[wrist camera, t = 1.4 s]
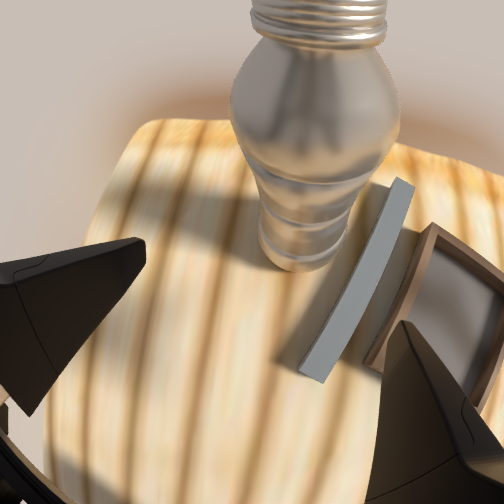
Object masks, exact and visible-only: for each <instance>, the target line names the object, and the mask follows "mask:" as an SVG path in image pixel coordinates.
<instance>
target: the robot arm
mask: <svg viewBox="0 0 504 504" xmlns="http://www.w3.org/2000/svg"><path fill="white" fill-rule="evenodd" d="M145 264H146V244H145V241H144V240H143V239H140V238H137V237H131V238H126V239H120V240H115V241H110V242H105V243H99V244H94V245H89V246H84V247H79V248H74V249H70V250H65V251H61V252H55V253H51V254H46V255H41V256H37V257H32V258H27V259H21V260H15V261H9V262H3V263H0V504H20V502H21V501H22V500H24V501H25V502H26V503H27V504H77V503H75V502H74V501H73V500H71V499H70V498H69V497H68V496H67V495H65V494H64V493H63V492H62V491H61V490H59V489H58V488H57V487H56V486H55V485H54V484H53V483H52V482H50V481H49V480H48V479H47V478H46V477H45V476H44V475H43V474H42V473H41V472H40V471H39V470H38V469H37V468H36V467H35V466H34V465H33V464H32V463H31V462H30V461H29V460H28V459H27V458H26V457H25V456H24V455H23V454H22V453H21V452H20V450H19V449H18V448H17V447H16V446H15V445H14V443H13V442H12V441H11V440H10V439H9V437H8V436H7V435H8V406H7V405H6V404H5V403H4V402H5V401H6V400H7V399H8V398H9V397H11V398H12V399H13V400H14V401H15V402H16V403H17V405H18V406H19V407H20V408H21V409H22V410H23V411H24V412H25V413H26V415H27V416H28V417H30V416H31V415H32V414H33V413H34V411H35V410H36V408H37V407H38V405H39V404H40V402H41V401H42V399H43V398H44V397H45V395H46V394H47V392H48V391H49V389H50V388H51V387H52V385H53V384H54V382H55V381H56V380H57V378H58V376H59V375H60V374H61V373H62V371H63V370H64V369H65V367H66V366H67V365H68V363H69V362H70V361H71V359H72V358H73V357H74V355H75V354H76V353H77V352H78V350H79V349H80V348H81V346H82V345H83V344H84V343H85V341H86V340H87V339H88V338H89V336H90V335H91V334H92V333H93V331H94V330H95V329H96V328H97V326H98V325H99V324H100V323H101V322H102V320H103V319H104V318H105V317H106V316H107V314H108V313H109V312H110V311H111V310H112V308H113V307H114V306H115V305H116V304H117V302H118V301H119V300H120V299H121V298H122V296H123V295H124V294H125V293H126V291H127V290H128V288H129V287H130V286H131V284H132V283H133V281H134V280H135V278H136V277H137V276H138V274H139V273H140V272H141V270H142V269H143V267H144V266H145ZM364 504H504V448H503V447H502V446H501V444H500V443H499V441H498V440H497V438H496V437H495V436H494V434H493V433H492V432H491V430H490V429H489V427H488V426H487V425H486V423H485V422H484V420H483V419H482V418H481V416H480V415H479V414H478V412H477V411H476V409H475V408H474V406H473V405H472V403H471V402H470V400H469V399H468V397H467V396H465V393H464V391H463V390H462V388H461V387H460V385H459V384H458V383H457V381H456V380H455V378H454V377H453V376H452V374H451V373H450V371H449V370H448V369H447V367H446V366H445V364H444V363H443V362H442V360H441V359H440V358H439V356H438V355H437V354H436V352H435V351H434V350H433V348H432V347H431V346H430V345H429V343H428V342H427V341H426V339H425V338H424V337H423V336H422V334H421V333H420V332H419V330H418V329H417V328H416V327H415V325H414V324H413V323H412V322H410V321H406V320H400V321H399V322H398V324H397V325H396V327H395V329H394V330H393V332H392V334H391V335H390V337H389V339H388V342H387V347H386V355H385V362H384V369H383V375H382V382H381V394H380V407H379V418H378V427H377V436H376V443H375V450H374V457H373V463H372V469H371V474H370V479H369V484H368V489H367V494H366V498H365V503H364Z"/></svg>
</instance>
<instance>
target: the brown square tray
mask: <svg viewBox="0 0 504 504" xmlns="http://www.w3.org/2000/svg"><path fill="white" fill-rule="evenodd" d="M400 320H406V321H410V322H412V323H413V324H414V325H415V327H416V328H417V329H418V330H419V332H420V333H421V334H422V336H423V337H424V338H425V339H426V341H427V342H428V343H429V345H430V346H431V347H432V348H433V350H434V351H435V352H436V354H437V355H438V356H439V358H440V359H441V360H442V362H443V363H444V364H445V366H446V367H447V369H448V370H449V371H450V373H451V374H452V376H453V377H454V378H455V380H456V381H457V383H458V384H459V385H460V387H461V388H462V390H463V391H464V393H465V396H467V397H468V399H469V400H470V402H471V403H472V405H473V406H474V408H475V409H476V411H477V412H478V414H479V415H480V413H481V411H482V409H483V407H484V405H485V403H486V401H487V399H488V397H489V394H490V392H491V390H492V388H493V385H494V383H495V380H496V378H497V375H498V373H499V370H500V367H501V365H502V362H503V359H504V273H502V272H501V271H500V270H499V269H498V268H496V267H495V266H494V265H493V264H491V263H490V262H489V261H487V260H486V259H485V258H484V257H482V256H481V255H480V254H478V253H477V252H476V251H474V250H473V249H471V248H470V247H469V246H467V245H466V244H465V243H463V242H462V241H460V240H459V239H457V238H456V237H455V236H453V235H452V234H450V233H449V232H447V231H446V230H444V229H443V228H441V227H440V226H438V225H437V224H435V223H434V222H432V223H431V224H430V225H429V226H428V227H426V228H425V229H424V230H423V231H422V232H421V234H420V237H419V239H418V242H417V245H416V248H415V251H414V253H413V256H412V259H411V261H410V264H409V267H408V269H407V272H406V274H405V277H404V279H403V281H402V284H401V286H400V289H399V291H398V293H397V295H396V298H395V300H394V302H393V304H392V306H391V309H390V311H389V313H388V315H387V317H386V319H385V321H384V323H383V325H382V327H381V329H380V331H379V333H378V335H377V337H376V339H375V341H374V343H373V345H372V347H371V348H370V350H369V352H368V354H367V356H366V357H365V359H364V361H363V363H362V364H364V365H366V366H368V367H370V368H372V369H373V370H375V371H377V372H379V373H381V374H383V369H384V362H385V355H386V347H387V342H388V339H389V337H390V335H391V334H392V332H393V330H394V329H395V327H396V325H397V324H398V322H399V321H400Z"/></svg>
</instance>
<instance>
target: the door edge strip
mask: <svg viewBox="0 0 504 504" xmlns="http://www.w3.org/2000/svg"><path fill="white" fill-rule="evenodd" d="M414 190H415V187H414V186H412V185H410V184H409V183H407V182H405V181H403V180H402V179H400V178H398V177H396V178H395V180H394V182H393V183H392V185H391V187H390V189H389V191H388V194H387V196H386V199H385V201H384V204H383V206H382V208H381V211H380V213H379V215H378V218H377V220H376V222H375V225H374V227H373V229H372V231H371V234H370V236H369V238H368V240H367V242H366V244H365V247H364V249H363V251H362V253H361V255H360V257H359V259H358V261H357V263H356V265H355V267H354V269H353V271H352V273H351V275H350V277H349V279H348V281H347V283H346V285H345V287H344V289H343V291H342V293H341V295H340V296H339V298H338V300H337V302H336V304H335V306H334V308H333V309H332V311H331V313H330V315H329V317H328V318H327V320H326V322H325V324H324V325H323V327H322V329H321V331H320V332H319V334H318V336H317V337H316V339H315V341H314V342H313V344H312V346H311V347H310V349H309V351H308V352H307V354H306V356H305V357H304V359H303V360H302V362H301V364H300V365H299V367H298V370H299V371H300V372H302V373H304V374H306V375H307V376H309V377H311V378H313V379H315V380H317V381H318V382H320V383H322V384H323V383H324V382H325V380H326V378H327V377H328V375H329V374H330V372H331V370H332V369H333V367H334V365H335V364H336V362H337V360H338V359H339V357H340V355H341V354H342V352H343V350H344V348H345V347H346V345H347V343H348V341H349V340H350V338H351V336H352V334H353V332H354V330H355V329H356V327H357V325H358V323H359V321H360V319H361V317H362V315H363V313H364V311H365V309H366V307H367V305H368V303H369V301H370V299H371V297H372V295H373V293H374V291H375V289H376V287H377V284H378V282H379V280H380V278H381V276H382V273H383V271H384V269H385V267H386V264H387V262H388V260H389V257H390V255H391V253H392V250H393V248H394V245H395V243H396V240H397V238H398V235H399V233H400V230H401V227H402V225H403V222H404V219H405V216H406V214H407V211H408V208H409V205H410V202H411V199H412V196H413V193H414Z"/></svg>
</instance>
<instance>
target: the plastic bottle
mask: <svg viewBox="0 0 504 504" xmlns="http://www.w3.org/2000/svg"><path fill="white" fill-rule="evenodd" d="M252 5H253V8H252V9H251V11H250V15H251V21H252V26H253V28H254V29H255V30H256V32H257V33H259V34H261V35H262V36H263V38H262V39H261V40H260V41H259V43H258V44H257V45H256V46H255V48H254V49H253V50H252V52H251V53H250V54H249V56H248V57H247V58H246V60H245V62H244V63H243V65H242V67H241V69H240V71H239V72H238V74H237V76H236V78H235V79H234V83H233V86H232V90H231V96H230V102H229V119H230V121H231V124H232V127H233V130H234V133H235V136H236V138H237V141H238V144H239V145H240V147H241V149H242V151H243V154H244V156H245V158H246V160H247V162H248V164H249V166H250V168H251V170H252V172H253V175H254V177H255V181H256V185H257V188H258V191H259V195H260V213H259V218H258V226H257V234H258V240H259V243H260V246H261V248H262V250H263V252H264V253H265V254H266V256H267V257H268V258H269V259H270V260H271V261H272V262H273V263H274V264H276V265H277V266H278V267H280V268H282V269H284V270H286V271H290V272H294V273H305V272H311V271H314V270H317V269H319V268H321V267H323V266H325V265H326V264H328V263H329V262H330V261H332V260H333V259H334V258H335V257H336V256H337V255H338V253H339V252H340V250H341V249H342V246H343V244H344V241H345V237H346V232H347V221H348V217H349V214H350V210H351V207H352V205H353V203H354V201H355V200H356V198H357V197H358V195H359V193H360V191H361V189H362V188H363V186H364V185H365V184H366V182H367V181H368V180H369V178H370V177H371V176H372V174H373V173H374V172H375V171H376V169H377V168H378V167H379V165H380V164H381V162H383V160H384V159H385V157H386V156H387V154H388V153H389V152H390V150H391V148H392V146H393V144H394V143H395V141H396V139H397V137H398V134H399V130H400V115H401V113H400V111H401V108H400V98H399V95H398V92H397V89H396V87H395V84H394V82H393V79H392V77H391V74H390V72H389V70H388V68H387V66H386V65H385V63H384V61H383V60H382V58H381V56H380V55H379V53H378V52H377V50H376V49H375V47H374V46H377V45H379V44H380V43H382V42H383V41H384V39H385V36H386V31H387V22H386V20H385V14H386V7H387V0H252Z"/></svg>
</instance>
